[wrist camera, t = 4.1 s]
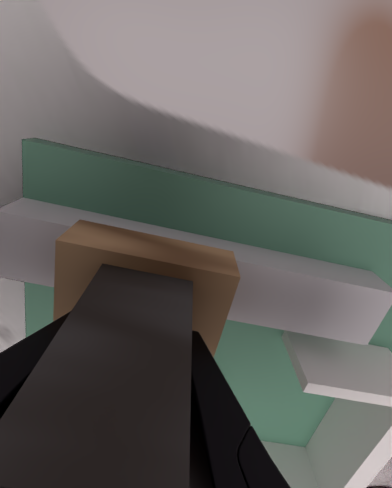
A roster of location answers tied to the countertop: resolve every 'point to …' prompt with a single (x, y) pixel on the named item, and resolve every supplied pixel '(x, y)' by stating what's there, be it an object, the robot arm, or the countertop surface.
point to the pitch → (244, 296)
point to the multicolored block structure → (117, 362)
